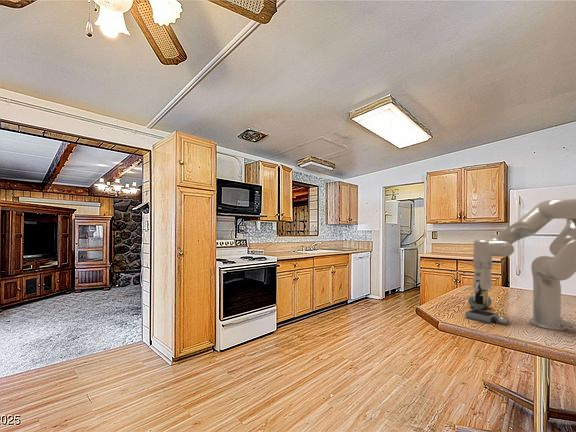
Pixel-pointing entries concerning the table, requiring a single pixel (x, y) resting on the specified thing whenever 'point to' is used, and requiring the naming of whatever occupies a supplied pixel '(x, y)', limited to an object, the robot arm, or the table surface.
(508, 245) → the robot arm
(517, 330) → the table surface
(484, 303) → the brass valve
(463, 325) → the table surface
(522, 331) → the table surface
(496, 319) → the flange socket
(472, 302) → the grey-teal rounded cylinder
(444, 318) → the table surface
